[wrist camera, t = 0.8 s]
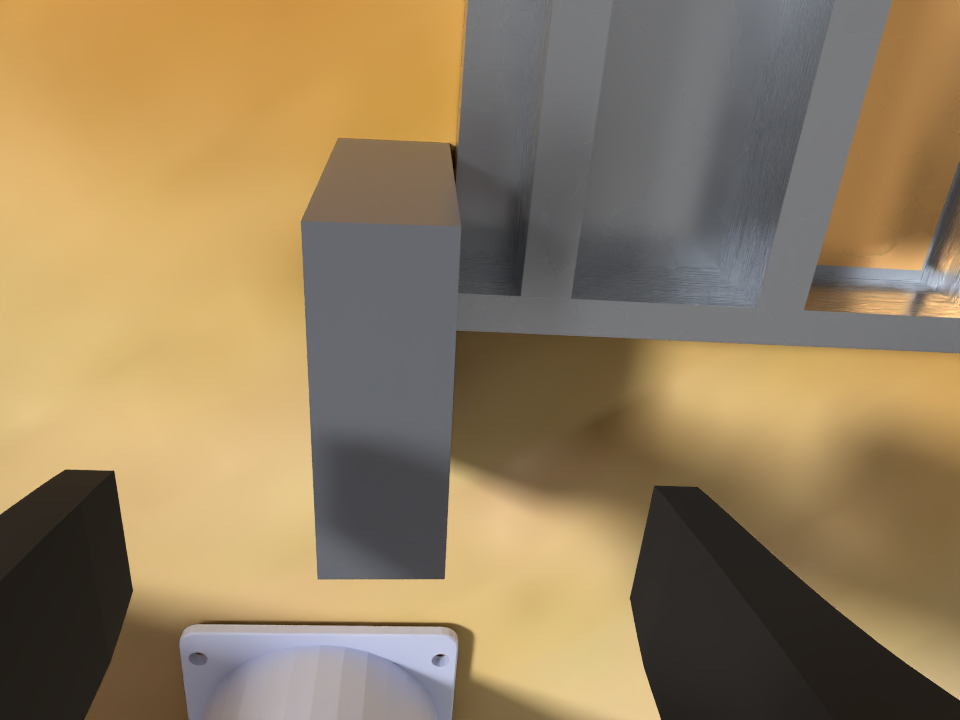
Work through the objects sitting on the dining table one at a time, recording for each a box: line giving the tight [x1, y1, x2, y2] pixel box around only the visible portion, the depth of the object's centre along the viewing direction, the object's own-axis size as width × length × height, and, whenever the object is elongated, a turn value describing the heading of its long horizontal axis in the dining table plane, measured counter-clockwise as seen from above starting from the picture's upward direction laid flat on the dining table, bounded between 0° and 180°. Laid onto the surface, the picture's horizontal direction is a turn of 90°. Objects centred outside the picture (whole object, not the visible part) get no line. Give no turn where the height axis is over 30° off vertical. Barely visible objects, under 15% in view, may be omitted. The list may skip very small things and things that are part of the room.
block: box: [301, 138, 461, 579], centre depth 16 cm, size 7×2×6 cm, turn 177°
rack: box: [454, 0, 960, 353], centre depth 16 cm, size 10×18×4 cm, turn 85°
